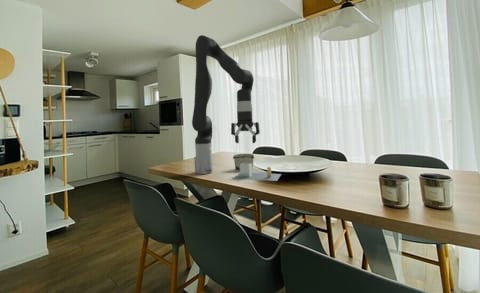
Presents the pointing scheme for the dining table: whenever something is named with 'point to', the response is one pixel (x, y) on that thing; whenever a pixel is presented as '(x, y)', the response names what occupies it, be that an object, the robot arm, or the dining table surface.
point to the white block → (245, 169)
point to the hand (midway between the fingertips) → (245, 143)
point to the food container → (242, 159)
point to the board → (261, 176)
